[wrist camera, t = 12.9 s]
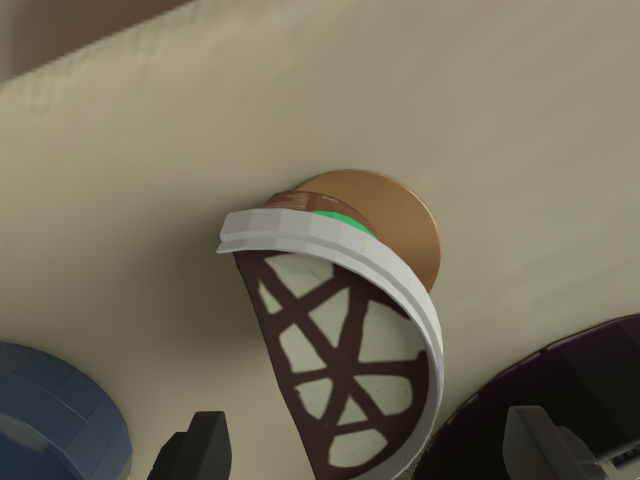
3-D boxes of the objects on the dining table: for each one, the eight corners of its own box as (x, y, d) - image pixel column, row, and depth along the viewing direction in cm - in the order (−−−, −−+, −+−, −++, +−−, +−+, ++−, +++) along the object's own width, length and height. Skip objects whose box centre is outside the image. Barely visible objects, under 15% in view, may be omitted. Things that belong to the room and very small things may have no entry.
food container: (423, 338, 24) (478, 499, 15) (324, 357, 25) (318, 521, 16) (383, 136, 20) (426, 182, 10) (266, 166, 21) (209, 234, 11)
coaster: (255, 173, 21) (252, 175, 21) (443, 164, 21) (446, 167, 20) (273, 330, 25) (271, 336, 24) (433, 327, 24) (436, 332, 24)
